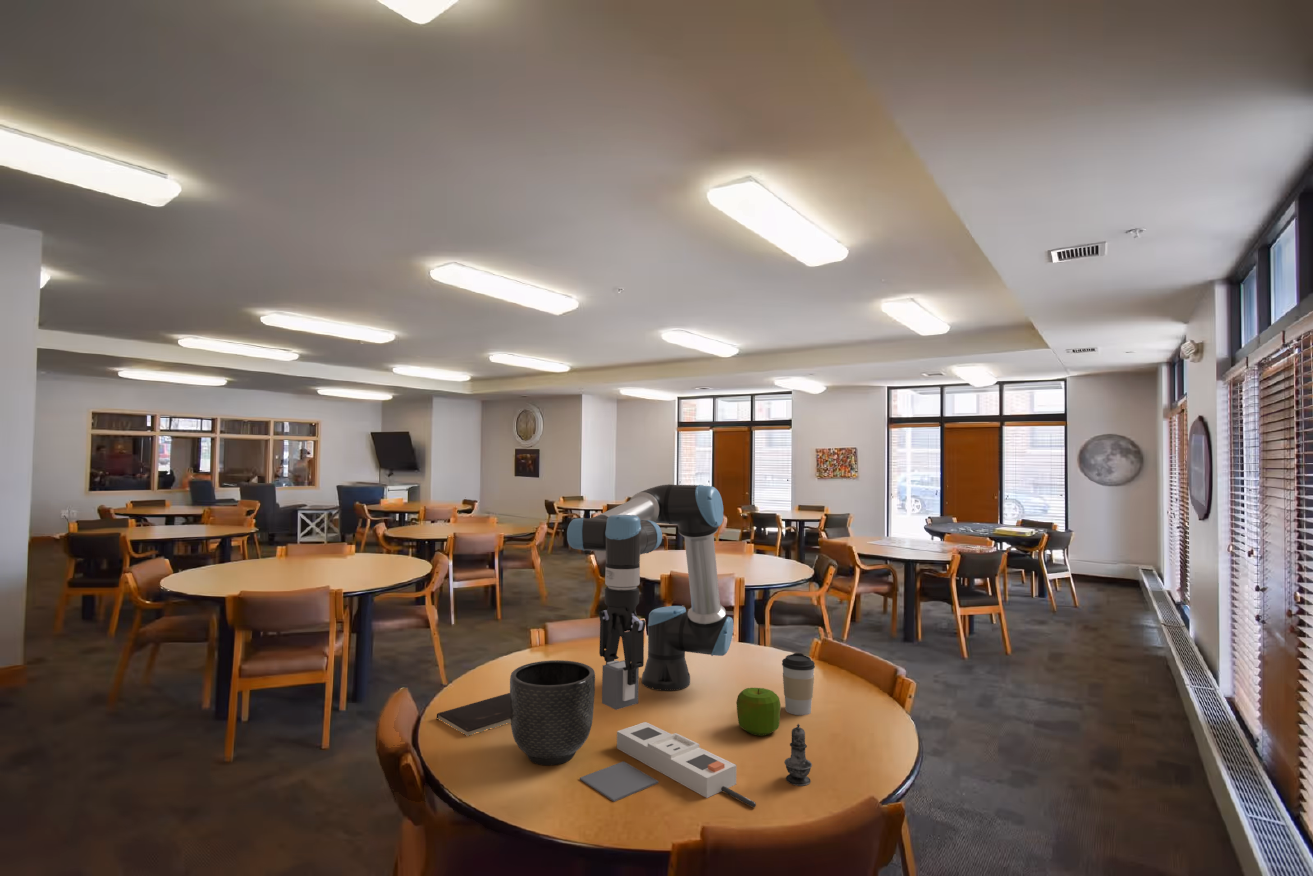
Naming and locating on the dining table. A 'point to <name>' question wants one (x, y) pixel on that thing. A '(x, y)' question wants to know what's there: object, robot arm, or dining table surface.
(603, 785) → the mat
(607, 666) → the charger
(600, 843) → the dining table surface
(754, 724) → the apple
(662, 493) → the robot arm
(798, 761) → the grey chess piece
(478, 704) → the hardcover book
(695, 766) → the strip
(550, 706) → the planter
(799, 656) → the coffee cup
